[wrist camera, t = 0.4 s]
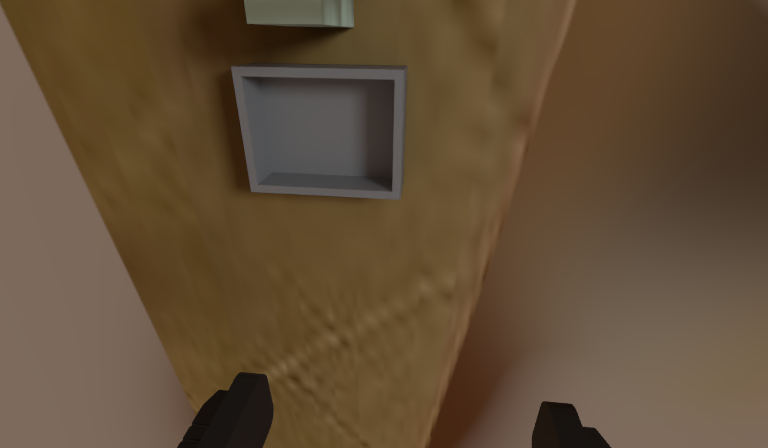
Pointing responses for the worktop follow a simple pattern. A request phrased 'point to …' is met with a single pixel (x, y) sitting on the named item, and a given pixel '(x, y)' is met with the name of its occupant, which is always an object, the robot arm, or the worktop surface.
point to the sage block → (300, 13)
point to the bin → (323, 128)
